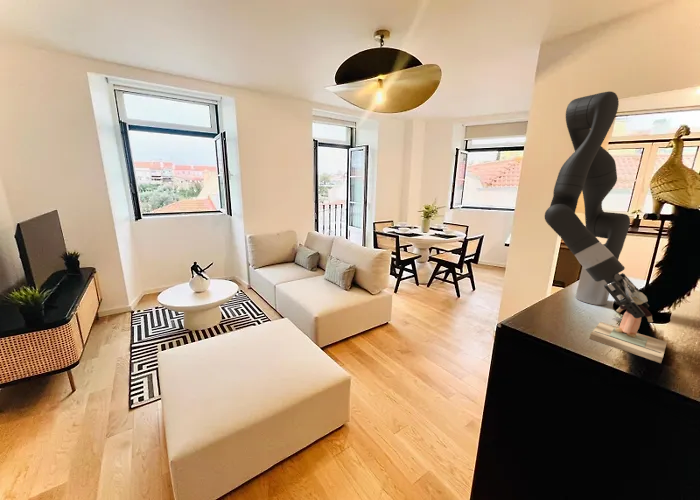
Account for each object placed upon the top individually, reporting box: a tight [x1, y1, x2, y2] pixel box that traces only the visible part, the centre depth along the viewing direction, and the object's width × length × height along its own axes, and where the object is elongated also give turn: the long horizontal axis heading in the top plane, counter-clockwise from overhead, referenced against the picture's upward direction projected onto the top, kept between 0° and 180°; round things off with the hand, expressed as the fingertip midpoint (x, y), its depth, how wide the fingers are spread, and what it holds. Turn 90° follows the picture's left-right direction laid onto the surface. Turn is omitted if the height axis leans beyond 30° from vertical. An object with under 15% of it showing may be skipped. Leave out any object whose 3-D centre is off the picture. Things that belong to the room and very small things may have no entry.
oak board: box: [589, 321, 668, 364], centre depth 79 cm, size 12×14×2 cm
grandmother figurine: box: [615, 291, 654, 338], centre depth 79 cm, size 8×4×13 cm, turn 35°
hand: (643, 312), depth 76 cm, fingers open, 8 cm apart
